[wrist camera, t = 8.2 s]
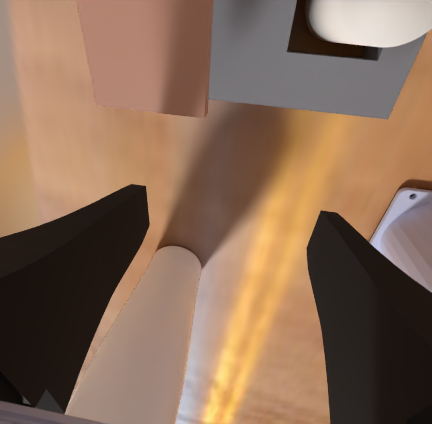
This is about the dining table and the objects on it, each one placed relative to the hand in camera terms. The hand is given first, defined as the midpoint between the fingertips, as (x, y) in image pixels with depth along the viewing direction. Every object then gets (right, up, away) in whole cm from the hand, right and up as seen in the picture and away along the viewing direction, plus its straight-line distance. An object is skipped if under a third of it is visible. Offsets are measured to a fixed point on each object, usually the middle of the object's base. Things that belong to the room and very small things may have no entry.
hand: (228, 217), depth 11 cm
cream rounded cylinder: (-5, -5, +17) cm, 18 cm away
